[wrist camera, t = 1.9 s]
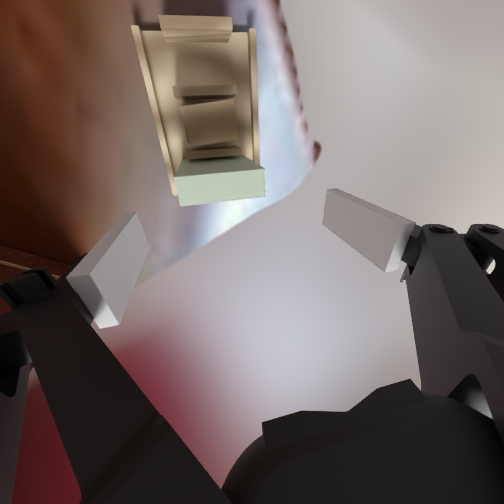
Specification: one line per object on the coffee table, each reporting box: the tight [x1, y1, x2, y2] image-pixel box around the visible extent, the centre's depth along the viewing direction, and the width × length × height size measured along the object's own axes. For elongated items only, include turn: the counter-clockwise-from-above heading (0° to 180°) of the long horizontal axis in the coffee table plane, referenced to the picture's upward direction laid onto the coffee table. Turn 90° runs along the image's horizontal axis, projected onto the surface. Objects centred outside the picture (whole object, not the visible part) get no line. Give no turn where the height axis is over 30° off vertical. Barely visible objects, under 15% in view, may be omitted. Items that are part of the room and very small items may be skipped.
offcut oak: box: [180, 99, 239, 147], centre depth 28 cm, size 4×7×3 cm
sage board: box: [174, 155, 265, 206], centre depth 29 cm, size 3×10×14 cm, turn 93°
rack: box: [131, 15, 259, 196], centre depth 30 cm, size 20×15×7 cm
